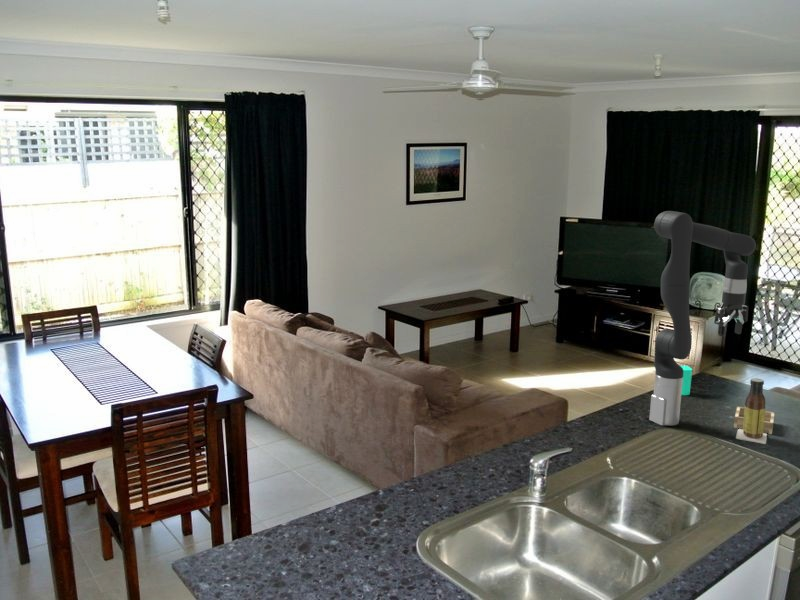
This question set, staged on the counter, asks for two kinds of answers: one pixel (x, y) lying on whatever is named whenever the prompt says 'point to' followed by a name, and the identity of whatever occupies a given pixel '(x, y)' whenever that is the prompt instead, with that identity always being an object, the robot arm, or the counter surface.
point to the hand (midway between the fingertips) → (729, 334)
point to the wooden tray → (767, 421)
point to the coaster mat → (743, 437)
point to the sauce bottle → (754, 410)
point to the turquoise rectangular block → (686, 380)
